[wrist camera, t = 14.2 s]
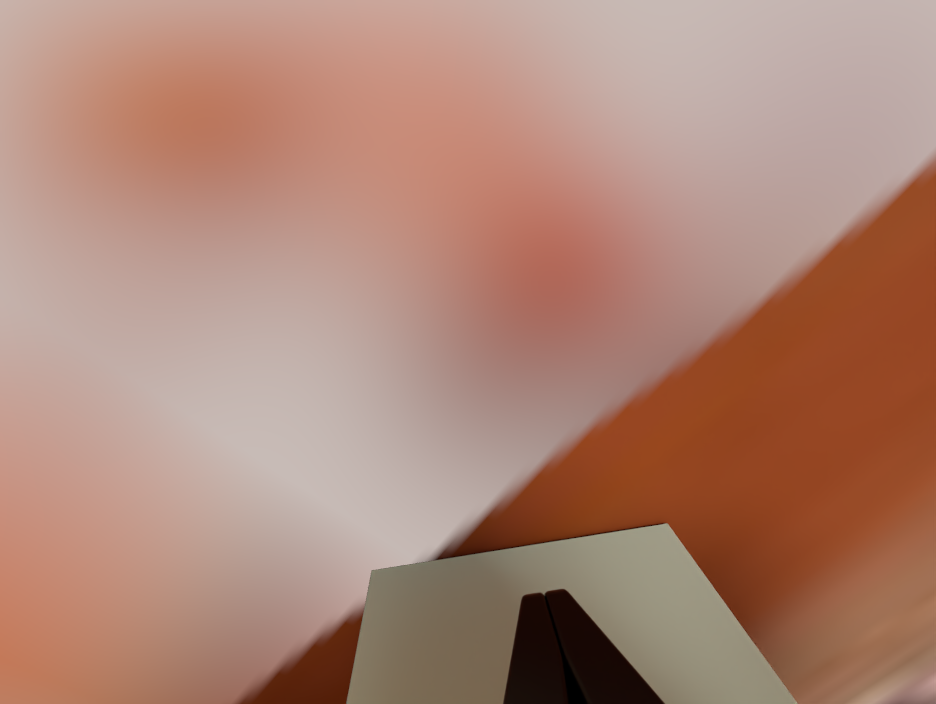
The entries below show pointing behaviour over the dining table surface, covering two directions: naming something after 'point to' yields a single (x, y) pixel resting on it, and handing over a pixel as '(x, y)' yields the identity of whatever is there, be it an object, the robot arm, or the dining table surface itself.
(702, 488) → the dining table surface
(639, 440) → the dining table surface
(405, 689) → the tray
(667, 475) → the dining table surface
